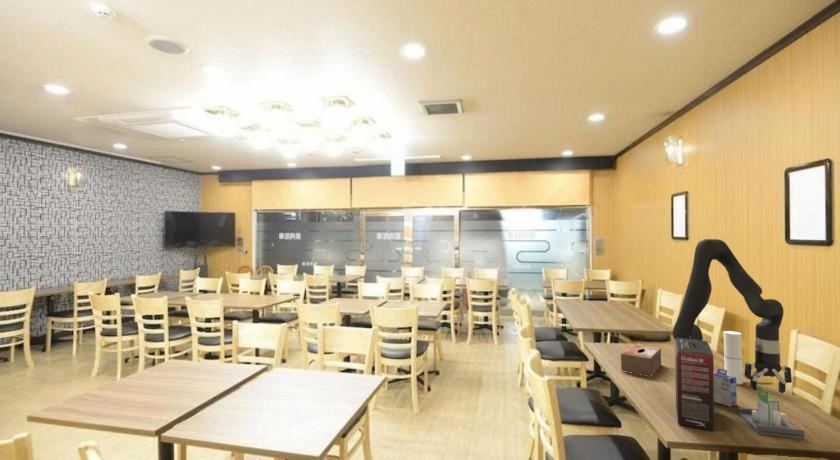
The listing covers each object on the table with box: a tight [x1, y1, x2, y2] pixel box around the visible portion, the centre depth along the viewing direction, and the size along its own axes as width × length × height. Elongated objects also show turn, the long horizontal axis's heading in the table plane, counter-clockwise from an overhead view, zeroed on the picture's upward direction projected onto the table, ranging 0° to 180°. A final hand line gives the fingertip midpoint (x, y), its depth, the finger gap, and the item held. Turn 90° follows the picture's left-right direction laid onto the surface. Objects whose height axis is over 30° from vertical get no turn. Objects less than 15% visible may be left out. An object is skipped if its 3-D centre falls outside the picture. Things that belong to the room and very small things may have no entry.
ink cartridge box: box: [714, 368, 738, 408], centre depth 181 cm, size 10×6×14 cm, turn 27°
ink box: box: [757, 384, 780, 426], centre depth 159 cm, size 7×4×13 cm, turn 166°
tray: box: [738, 406, 805, 440], centre depth 158 cm, size 14×17×8 cm
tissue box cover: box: [620, 343, 662, 377], centre depth 229 cm, size 26×14×10 cm, turn 138°
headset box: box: [674, 335, 715, 432], centre depth 168 cm, size 24×13×33 cm, turn 149°
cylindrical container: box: [723, 330, 744, 385], centre depth 206 cm, size 7×7×25 cm
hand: (767, 391), depth 159 cm, fingers open, 8 cm apart
